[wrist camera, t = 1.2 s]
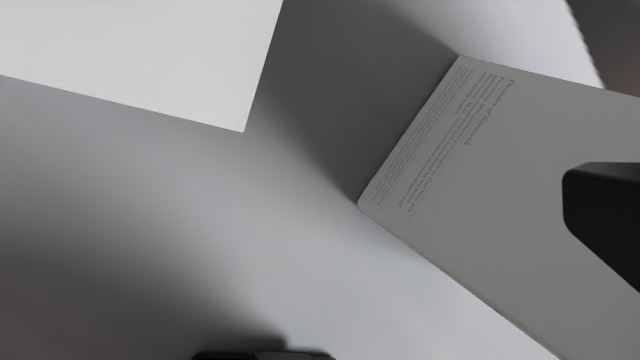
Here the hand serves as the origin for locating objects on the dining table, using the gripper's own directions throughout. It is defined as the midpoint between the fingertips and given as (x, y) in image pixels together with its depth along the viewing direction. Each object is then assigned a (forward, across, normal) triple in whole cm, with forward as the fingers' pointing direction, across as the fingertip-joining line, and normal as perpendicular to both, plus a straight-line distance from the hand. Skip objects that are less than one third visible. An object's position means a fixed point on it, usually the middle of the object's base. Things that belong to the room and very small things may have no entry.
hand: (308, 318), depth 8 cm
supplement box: (+13, -12, +7) cm, 19 cm away
